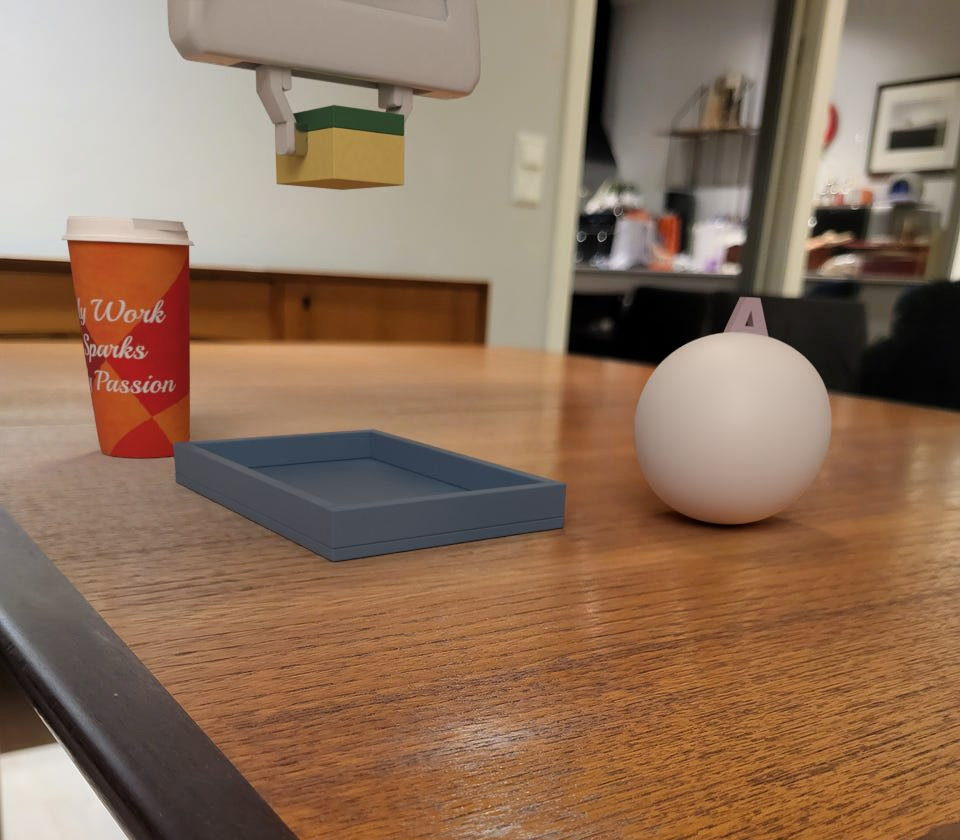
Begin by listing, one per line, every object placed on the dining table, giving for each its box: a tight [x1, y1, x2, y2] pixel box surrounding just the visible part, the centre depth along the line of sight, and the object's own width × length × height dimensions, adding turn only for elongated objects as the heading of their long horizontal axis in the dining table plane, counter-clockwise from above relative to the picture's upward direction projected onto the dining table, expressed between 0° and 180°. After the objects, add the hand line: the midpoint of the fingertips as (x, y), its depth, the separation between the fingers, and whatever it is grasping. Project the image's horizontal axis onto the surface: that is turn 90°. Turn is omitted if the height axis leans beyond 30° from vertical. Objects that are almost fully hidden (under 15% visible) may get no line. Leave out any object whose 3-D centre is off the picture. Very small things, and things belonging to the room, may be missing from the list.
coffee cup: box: [61, 215, 195, 459], centre depth 68 cm, size 8×8×15 cm
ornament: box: [633, 296, 833, 525], centre depth 55 cm, size 10×10×12 cm
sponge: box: [275, 104, 405, 191], centre depth 64 cm, size 8×5×4 cm, turn 36°
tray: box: [173, 428, 567, 562], centre depth 57 cm, size 20×14×2 cm
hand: (336, 161), depth 64 cm, fingers closed on sponge, 5 cm apart
